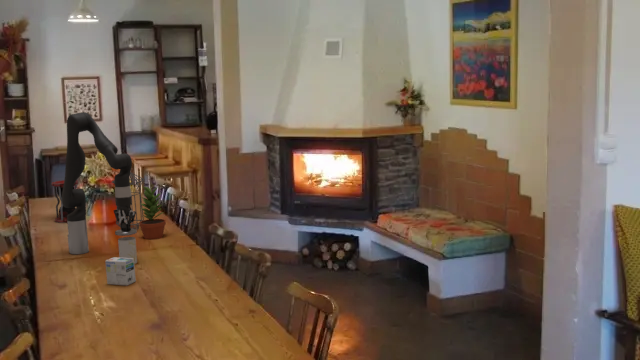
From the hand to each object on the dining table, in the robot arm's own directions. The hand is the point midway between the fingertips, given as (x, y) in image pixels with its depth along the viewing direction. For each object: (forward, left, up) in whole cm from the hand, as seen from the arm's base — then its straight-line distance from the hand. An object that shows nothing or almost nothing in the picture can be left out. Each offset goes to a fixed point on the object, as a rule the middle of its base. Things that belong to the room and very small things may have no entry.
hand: (125, 230), depth 344 cm
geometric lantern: (-57, +52, -16) cm, 79 cm away
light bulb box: (+24, -24, -16) cm, 38 cm away
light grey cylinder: (0, 0, -16) cm, 16 cm away
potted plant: (-31, +45, -16) cm, 57 cm away
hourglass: (-118, +53, -16) cm, 130 cm away
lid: (0, 0, -1) cm, 1 cm away
